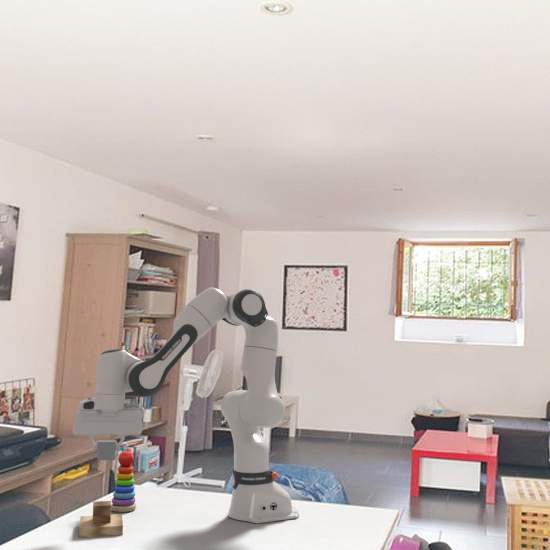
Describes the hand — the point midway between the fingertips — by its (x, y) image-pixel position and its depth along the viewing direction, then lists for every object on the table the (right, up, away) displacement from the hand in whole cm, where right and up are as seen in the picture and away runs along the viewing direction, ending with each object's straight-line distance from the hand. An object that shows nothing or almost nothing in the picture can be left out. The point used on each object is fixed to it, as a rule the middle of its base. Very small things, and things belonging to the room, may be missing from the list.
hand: (106, 450), depth 190 cm
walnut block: (-1, -20, -3) cm, 20 cm away
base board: (-1, -22, -3) cm, 23 cm away
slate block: (0, -3, 0) cm, 3 cm away
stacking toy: (+1, -25, +18) cm, 30 cm away
